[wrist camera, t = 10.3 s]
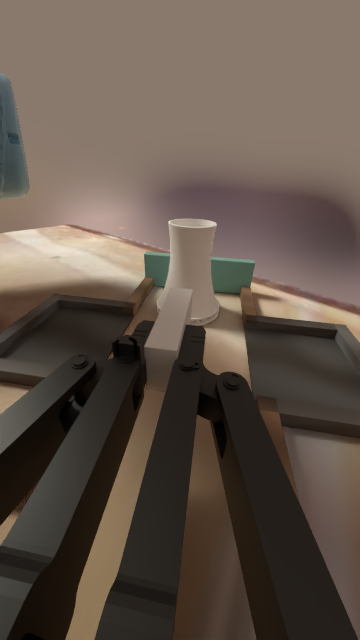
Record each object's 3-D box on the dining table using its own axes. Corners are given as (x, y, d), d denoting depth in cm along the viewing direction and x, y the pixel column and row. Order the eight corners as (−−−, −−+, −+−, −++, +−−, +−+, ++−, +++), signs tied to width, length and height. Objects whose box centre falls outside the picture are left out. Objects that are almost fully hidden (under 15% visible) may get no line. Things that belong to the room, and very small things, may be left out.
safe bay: (248, 294, 33) (255, 263, 30) (145, 284, 34) (144, 254, 32) (247, 291, 34) (254, 260, 31) (148, 281, 35) (146, 251, 33)
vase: (204, 334, 24) (214, 234, 19) (144, 315, 27) (139, 223, 22) (226, 304, 30) (240, 221, 25) (175, 291, 33) (177, 214, 28)
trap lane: (547, 621, 9) (576, 615, 8) (-152, 464, 13) (-168, 452, 12) (316, 301, 32) (319, 293, 31) (88, 279, 36) (86, 271, 35)
